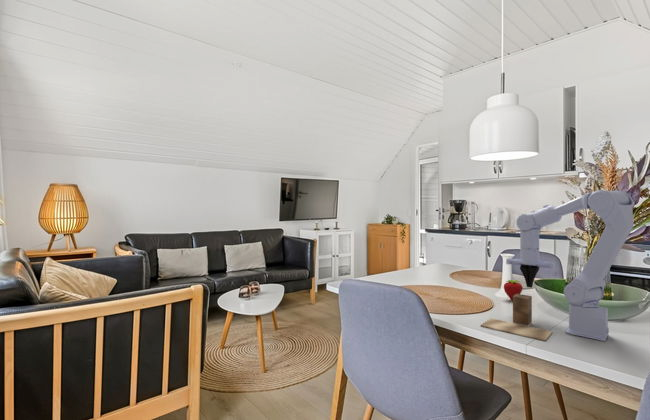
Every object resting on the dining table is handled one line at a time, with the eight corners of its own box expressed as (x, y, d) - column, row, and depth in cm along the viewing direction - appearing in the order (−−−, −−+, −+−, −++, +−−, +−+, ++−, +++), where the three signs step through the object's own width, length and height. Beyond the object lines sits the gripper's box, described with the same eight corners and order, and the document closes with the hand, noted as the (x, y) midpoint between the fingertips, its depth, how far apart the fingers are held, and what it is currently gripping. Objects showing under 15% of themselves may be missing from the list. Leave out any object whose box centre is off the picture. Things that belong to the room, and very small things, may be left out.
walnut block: (531, 323, 113) (531, 296, 113) (528, 326, 110) (528, 298, 109) (516, 320, 116) (516, 293, 116) (512, 323, 113) (512, 296, 113)
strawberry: (526, 301, 137) (526, 277, 137) (510, 303, 136) (510, 278, 136) (515, 298, 143) (515, 274, 143) (499, 299, 142) (499, 275, 141)
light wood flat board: (552, 332, 104) (552, 331, 104) (545, 341, 97) (545, 340, 97) (490, 319, 117) (490, 318, 117) (480, 326, 110) (480, 325, 110)
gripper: (556, 248, 117) (556, 288, 117) (510, 245, 127) (510, 281, 127) (552, 251, 112) (552, 291, 112) (504, 247, 122) (504, 285, 122)
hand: (529, 286), depth 119 cm, fingers closed
